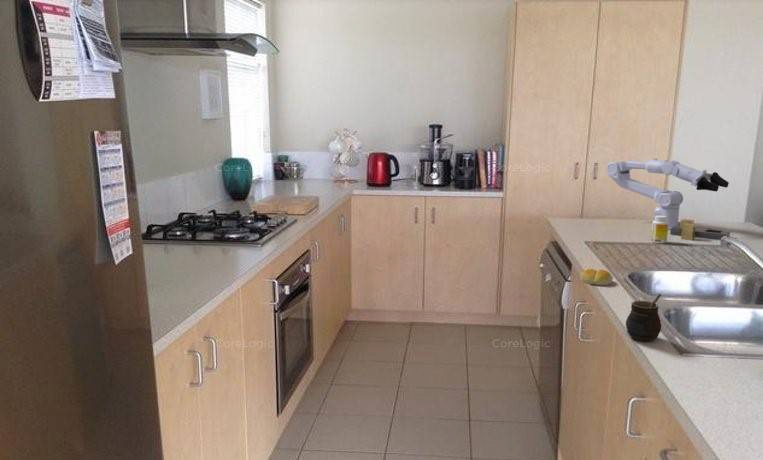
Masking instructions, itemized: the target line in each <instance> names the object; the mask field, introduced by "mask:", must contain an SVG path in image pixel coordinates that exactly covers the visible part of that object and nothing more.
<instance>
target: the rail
mask: <svg viewBox="0 0 763 460" xmlns="http://www.w3.org/2000/svg"><path fill="white" fill-rule="evenodd" d="M681 233H682V229H680V225H678V226H675V227H673V228H671V229H670V233H669V235H671V236H680V237H681ZM730 235H731V230H723V229H722V230H721V229H711V228H702V227H696V230H695V238H699V239H706V240H707V239H708V240H717V241H722V240H721V238H722V237H723V236H727V237H729V238H730V237H731V236H730Z"/></svg>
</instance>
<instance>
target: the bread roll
mask: <svg viewBox="0 0 763 460" xmlns="http://www.w3.org/2000/svg"><path fill="white" fill-rule="evenodd" d="M579 279H580V281H581V282H582V283H584V284H587V285H595V286H609V285H611V284H612V282H613V275H612V273H610V271H608V270H605V269H599V270H596V269H593V268H587V269H584V271H582V272H581V273H580V278H579Z"/></svg>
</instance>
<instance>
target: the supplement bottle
mask: <svg viewBox="0 0 763 460" xmlns="http://www.w3.org/2000/svg"><path fill="white" fill-rule="evenodd" d="M668 231H669V230H668V222H667V221H666V216H655V221H654V220H653V221H652V223H651V239H650V241H651V242H652V243H655V244H666V243H667V241H668Z"/></svg>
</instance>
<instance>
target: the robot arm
mask: <svg viewBox="0 0 763 460" xmlns="http://www.w3.org/2000/svg"><path fill="white" fill-rule="evenodd" d="M631 170H646V171H647V172H648V173H650V174H651V173H652V174H660V175H661V174H662V175H665V176H673V177H676V178H678V179H680V180H682V181H686V182H689V183H690V186H693V187H696V190H697V191H711V192H718V191H719V188H720V187H722V188H728V187H729V184H730V183H729V181H727V180H726V179H724V178H723V177H722V176H720V175H719V173H718V172H716V171H714V172H712V173H708V172H707V169H704V170H702V171H701V170H698V169H696V168H693V167H689V166H687V165H684V164H682V163H680V162H679V161H677V160H670V161H668V159H663V160H660V159H658V158H653V159H650V160H648V161H646V162H645V161H639V160H631V159H629V160H620V161H610V162H609V163H608V164H607V165H606V173H607V176H608V177H609V178H611V179H612V180H613V181H614V182H615V183H616V184H617V186H619V187H620V188H622V189H624V190H627V191H631V192H634V193H636V194H639V195H641V196H644V197H647V198H649V199H651V200H654V202H655V203H657V204H658V205H660V206H656V207H655V209H654V211H653V221H655V216H666V221H667V222H668V229H669V230H671V228H673V227H675V226H679V216H680V205H681V204H682V203H683V202H684V201H683V200H684V196H683V193H682V192H680V191H678V190H675V191H672V190H665V189H660V187H659V188H658V187H655V186H652V185H650V184H646V183H643V182H641V181H638V180H636V179H633V178H631Z"/></svg>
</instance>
